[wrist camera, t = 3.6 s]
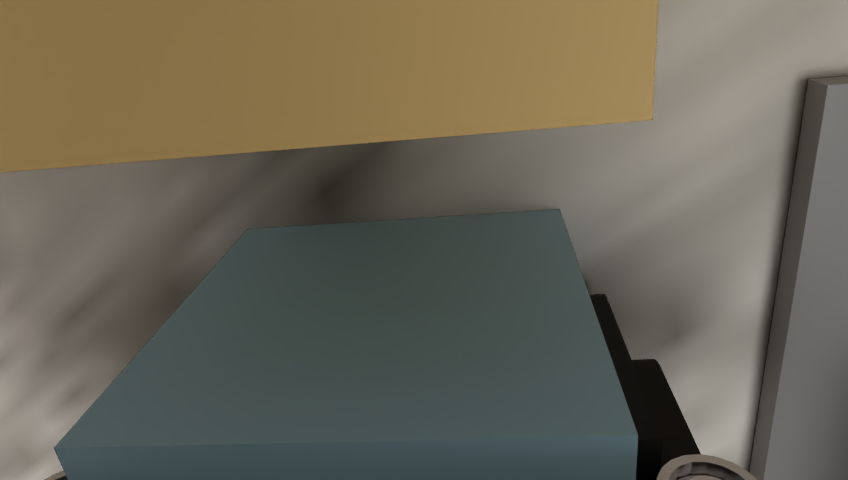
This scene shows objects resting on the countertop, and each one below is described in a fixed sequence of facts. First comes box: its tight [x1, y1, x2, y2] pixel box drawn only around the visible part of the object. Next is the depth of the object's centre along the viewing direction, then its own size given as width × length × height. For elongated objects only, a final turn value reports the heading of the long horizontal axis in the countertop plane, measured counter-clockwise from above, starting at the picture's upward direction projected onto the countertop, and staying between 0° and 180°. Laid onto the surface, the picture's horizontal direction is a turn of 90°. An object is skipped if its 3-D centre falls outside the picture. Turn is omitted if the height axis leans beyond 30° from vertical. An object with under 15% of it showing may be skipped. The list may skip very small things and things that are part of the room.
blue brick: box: [54, 209, 638, 480], centre depth 10 cm, size 6×6×6 cm
